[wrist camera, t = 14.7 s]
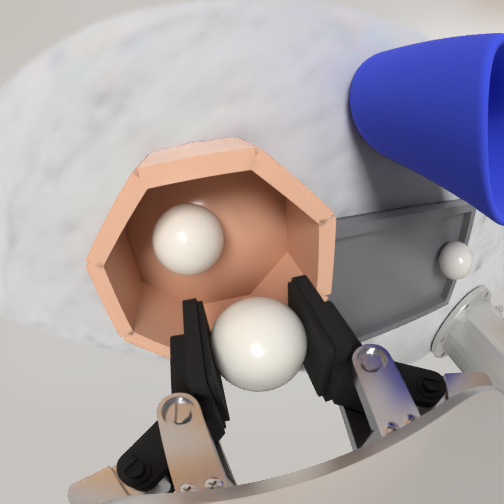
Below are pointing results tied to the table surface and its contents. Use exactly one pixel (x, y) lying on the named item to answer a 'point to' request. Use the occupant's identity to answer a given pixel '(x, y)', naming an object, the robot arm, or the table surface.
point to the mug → (439, 114)
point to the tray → (395, 264)
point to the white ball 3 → (455, 260)
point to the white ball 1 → (187, 239)
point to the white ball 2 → (258, 343)
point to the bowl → (234, 229)
